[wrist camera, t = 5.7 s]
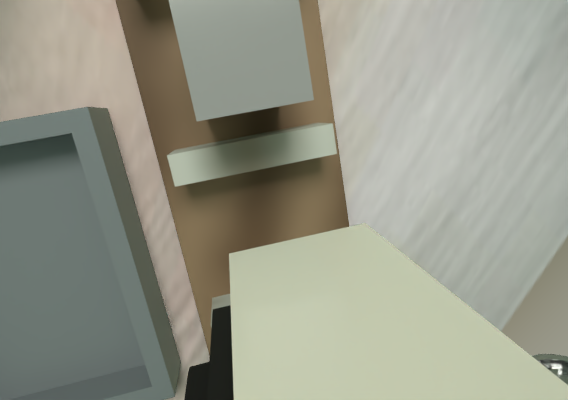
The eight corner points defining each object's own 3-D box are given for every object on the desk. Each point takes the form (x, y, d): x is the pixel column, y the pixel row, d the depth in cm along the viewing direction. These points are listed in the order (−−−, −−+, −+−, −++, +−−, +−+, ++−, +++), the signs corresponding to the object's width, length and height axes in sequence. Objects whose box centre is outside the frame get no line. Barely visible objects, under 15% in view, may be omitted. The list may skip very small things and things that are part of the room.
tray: (107, 108, 20) (87, 107, 17) (180, 362, 23) (174, 396, 21) (-142, 151, 18) (-211, 158, 15) (-20, 414, 22) (-56, 458, 19)
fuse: (261, 8, 19) (288, -67, 11) (279, 106, 20) (314, 99, 12) (184, 19, 18) (157, -50, 11) (206, 119, 20) (196, 121, 12)
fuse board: (305, -58, 19) (324, -98, 16) (369, 395, 26) (393, 439, 23) (110, -32, 18) (82, -70, 15) (232, 434, 25) (234, 487, 22)
